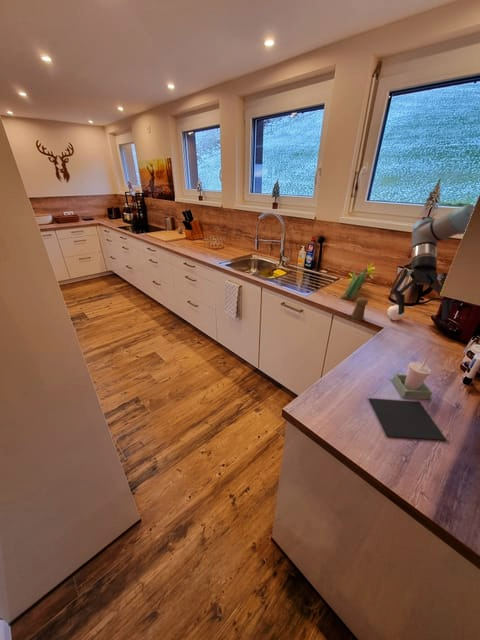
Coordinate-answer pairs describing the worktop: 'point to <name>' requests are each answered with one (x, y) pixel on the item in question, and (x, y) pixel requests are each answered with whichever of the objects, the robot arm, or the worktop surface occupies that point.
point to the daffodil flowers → (358, 282)
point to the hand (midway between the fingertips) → (423, 316)
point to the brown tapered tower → (359, 309)
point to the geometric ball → (394, 313)
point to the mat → (405, 419)
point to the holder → (405, 393)
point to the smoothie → (416, 375)
